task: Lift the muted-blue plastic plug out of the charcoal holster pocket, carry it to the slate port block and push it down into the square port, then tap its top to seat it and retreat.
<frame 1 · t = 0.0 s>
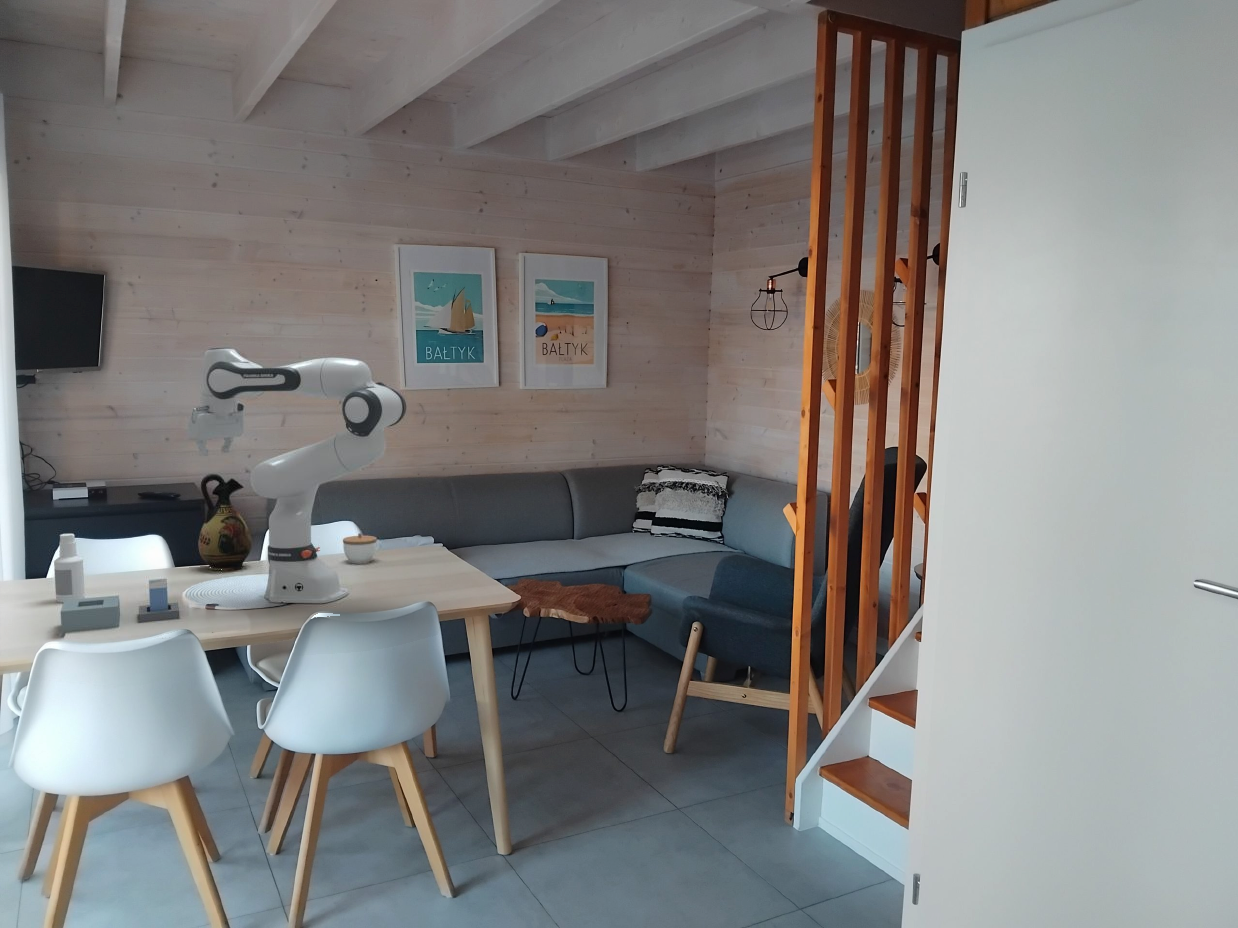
hand: (214, 454, 269), 39 cm above the table, tool pointing down, fingers open, 8 cm apart
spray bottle: (70, 600, 260), on the table
holster: (159, 619, 240), on the table
plug: (159, 615, 240), point 1 cm above the table, touching holster
port block: (92, 627, 233), on the table
ceramic jug: (223, 569, 301), on the table
lidded jar: (360, 562, 313), on the table
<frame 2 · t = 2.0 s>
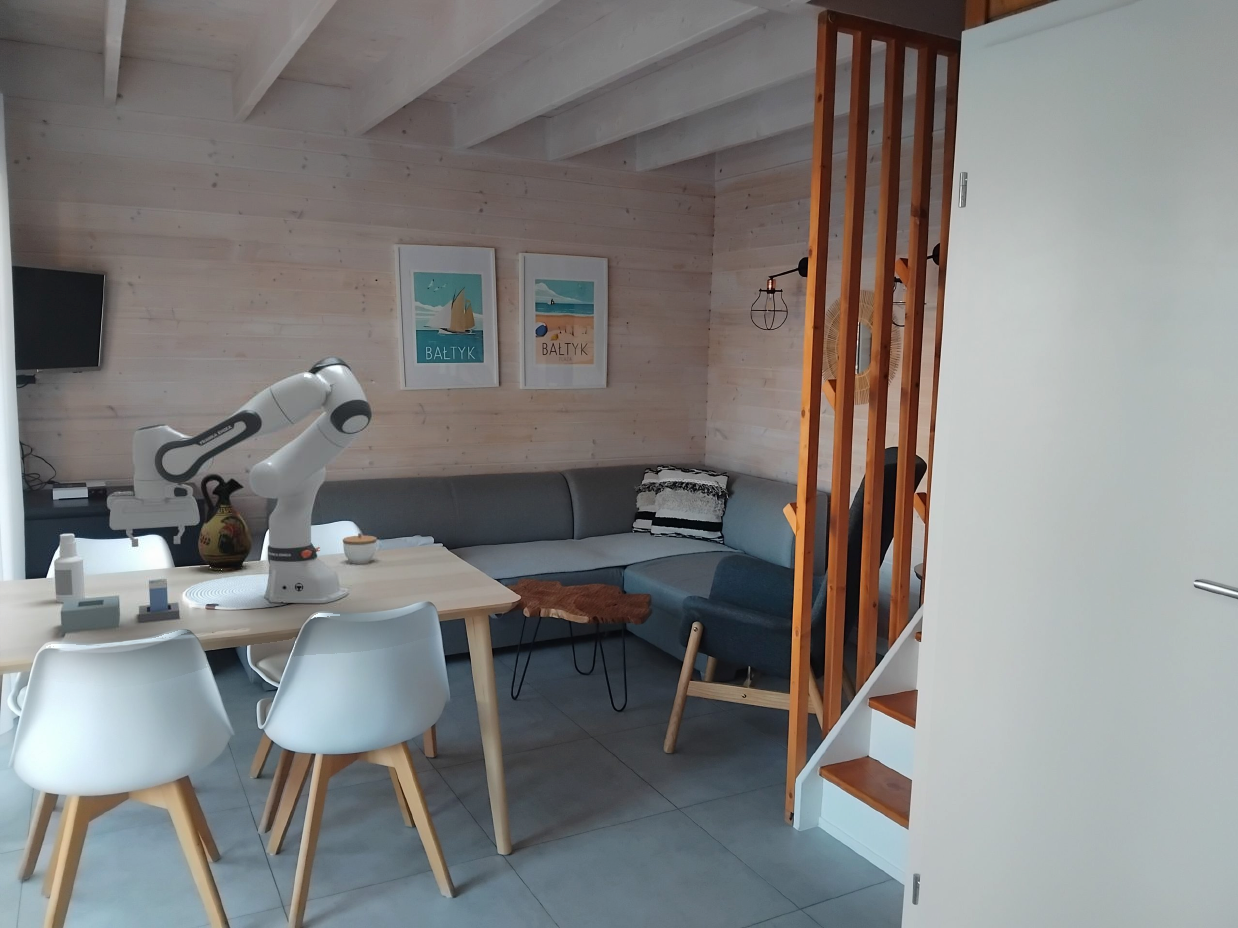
hand: (156, 545, 239), 19 cm above the table, tool pointing down, fingers open, 8 cm apart
nothing on the table moved.
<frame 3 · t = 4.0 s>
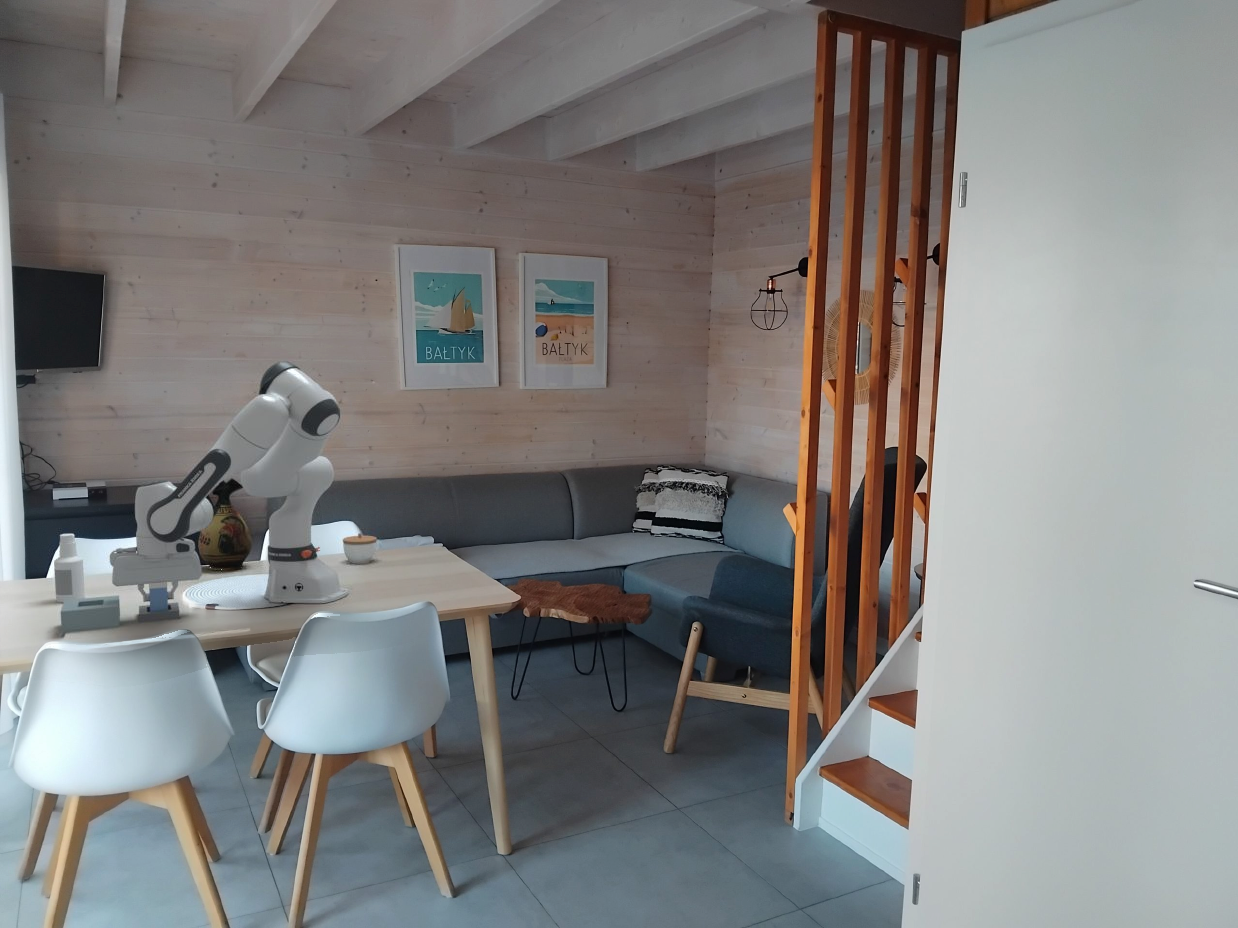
hand: (158, 600, 240), 5 cm above the table, tool pointing down, fingers closed on plug, 4 cm apart
plug: (159, 615, 240), point 1 cm above the table, touching gripper, holster
everything else where it was.
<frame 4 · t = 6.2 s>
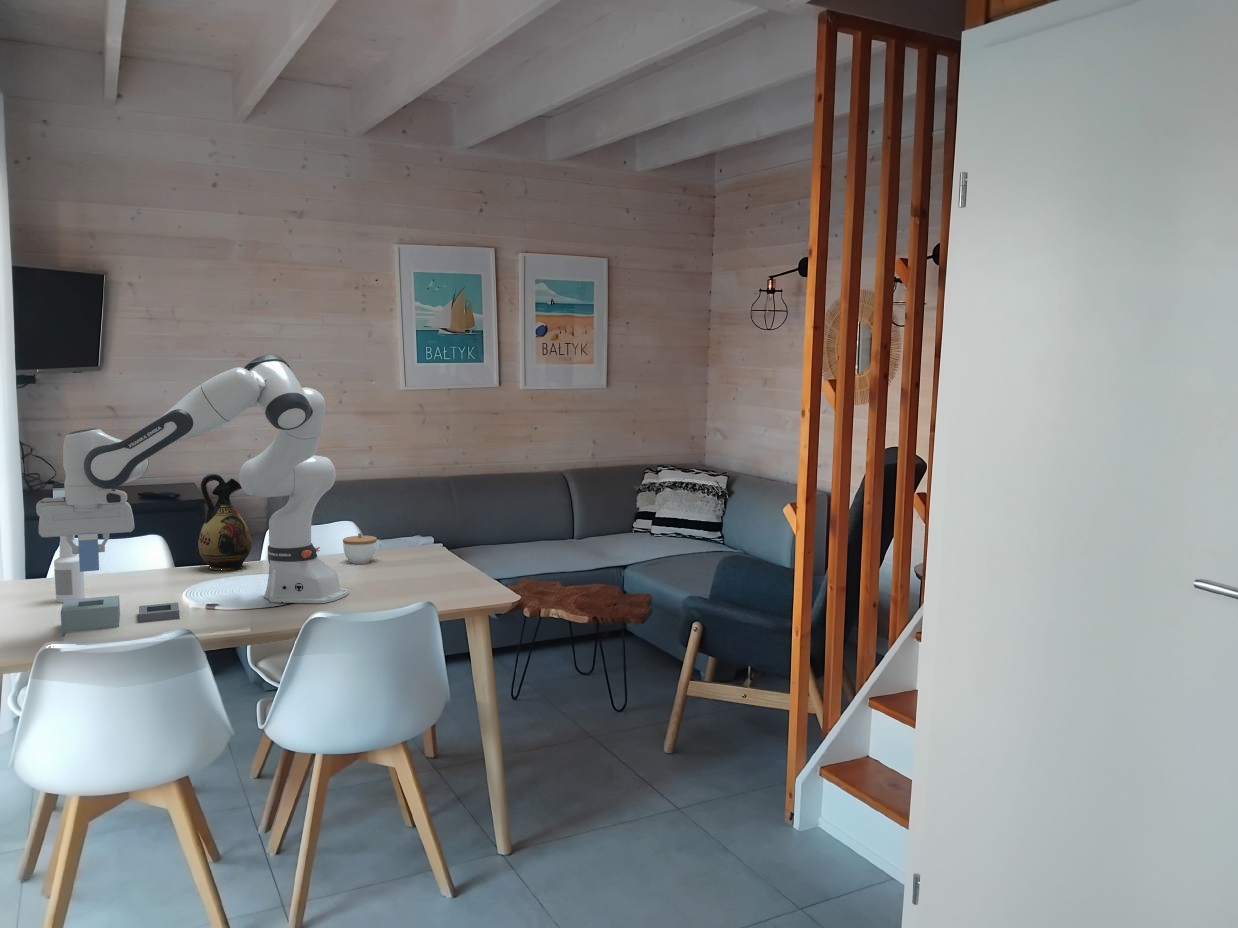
hand: (88, 552, 231), 19 cm above the table, tool pointing down, fingers closed on plug, 4 cm apart
plug: (89, 569, 232), point 14 cm above the table, touching gripper
everything else where it was.
when the fingers open (6 cm above the table, at t = 8.4 s): plug drops 2 cm, resting in port block.
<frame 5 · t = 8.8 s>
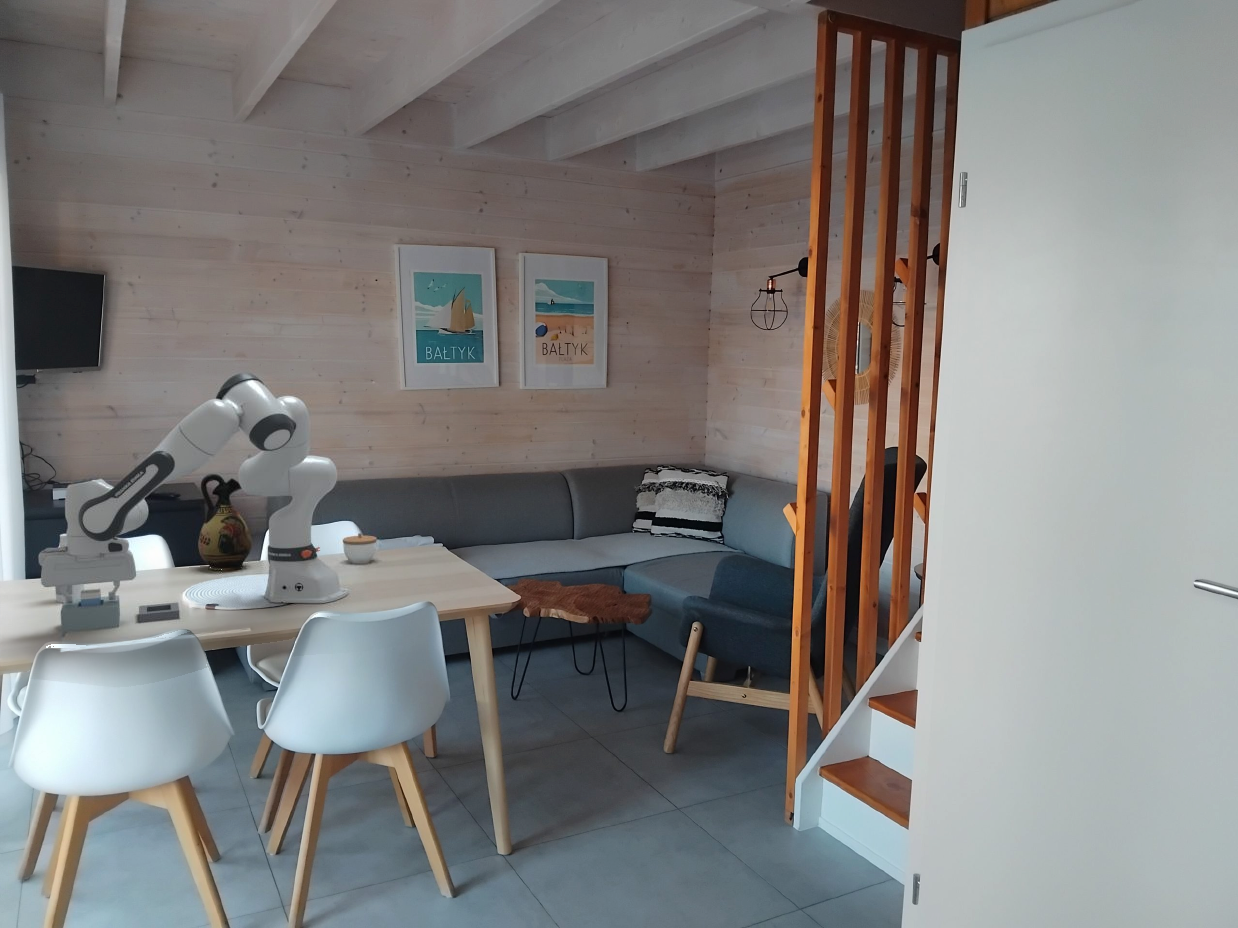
hand: (90, 601, 233), 6 cm above the table, tool pointing down, fingers open, 8 cm apart
plug: (92, 627, 233), resting in port block
everything else where it was.
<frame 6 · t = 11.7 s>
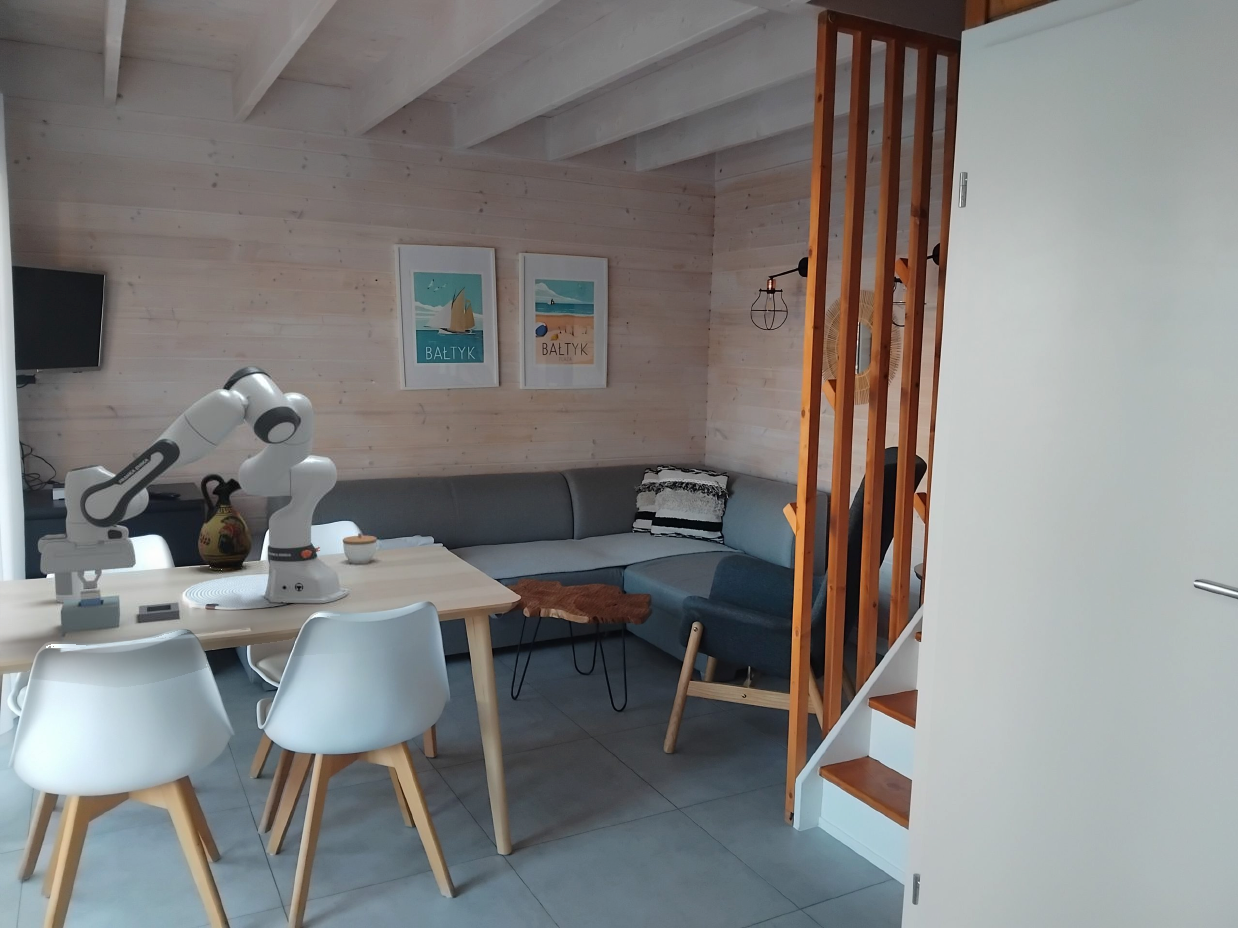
hand: (90, 588, 232), 10 cm above the table, tool pointing down, fingers closed
nothing on the table moved.
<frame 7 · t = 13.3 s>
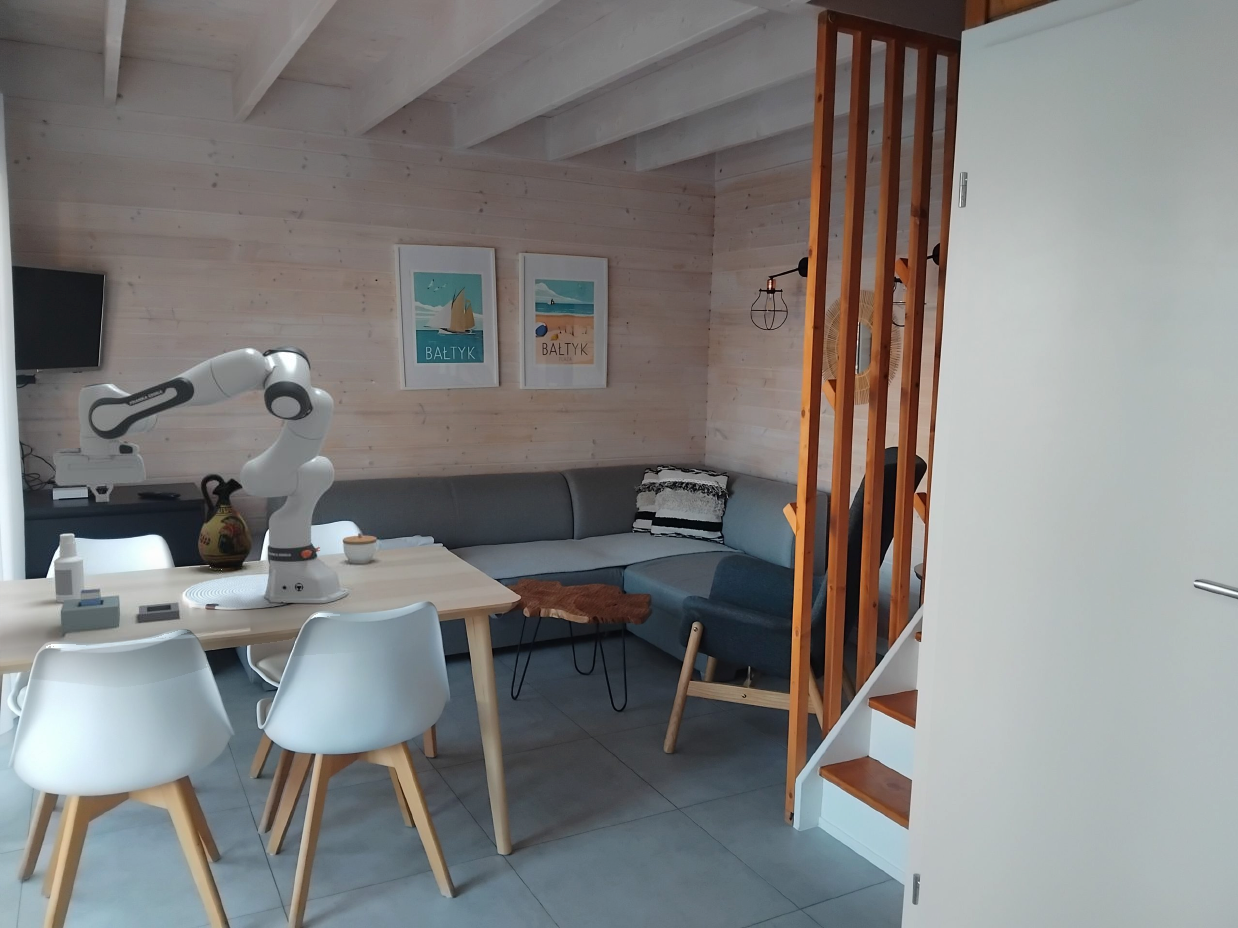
hand: (102, 501, 243), 29 cm above the table, tool pointing down, fingers closed
nothing on the table moved.
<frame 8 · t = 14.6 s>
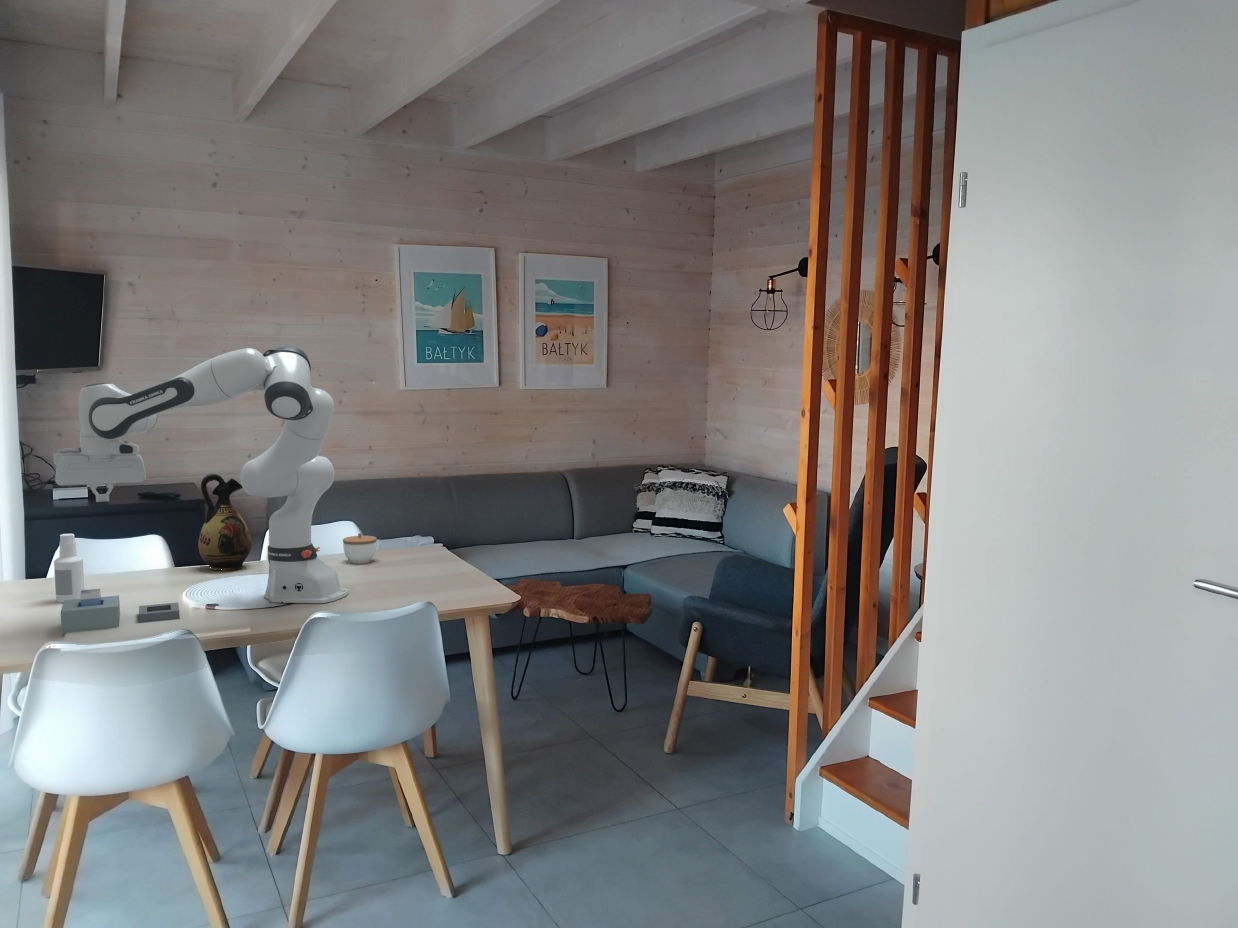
hand: (102, 501, 243), 29 cm above the table, tool pointing down, fingers closed
nothing on the table moved.
at the end: plug 0.1 cm off-centre on the port block, point 0.0 cm above the port block's base; plug tilted 0°; the gripper is holding nothing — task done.
